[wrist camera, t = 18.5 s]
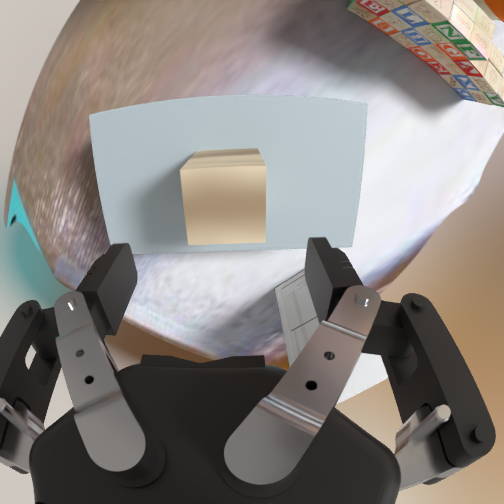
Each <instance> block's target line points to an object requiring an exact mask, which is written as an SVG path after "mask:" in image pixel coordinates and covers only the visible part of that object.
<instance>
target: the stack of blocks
mask: <svg viewBox="0 0 504 504" xmlns="http://www.w3.org/2000/svg"><path fill="white" fill-rule="evenodd" d="M347 9H348V10H349V11H351V12H353V13H355V14H356V15H358V16H360V17H361V18H363V19H365V20H366V21H368V22H369V23H370V24H372V25H373V26H375V27H376V28H378V29H380V30H381V31H383V32H384V33H385V34H387V35H389V36H390V37H391V38H393V39H394V40H395V41H397V42H398V43H400V44H401V45H402V46H404V47H405V48H407V49H409V50H410V51H411V52H413V53H414V54H415V55H416V56H418V57H419V58H420V59H421V60H423V61H424V62H425V63H427V64H428V65H429V66H430V67H431V68H432V69H434V70H435V71H436V72H437V73H438V74H439V75H440V76H441V77H442V78H443V79H444V80H445V81H446V82H447V83H448V84H449V85H450V86H451V87H453V89H454V90H455V91H456V92H457V93H458V94H459V95H460V96H461V97H462V98H463V99H465V100H470V101H475V102H479V103H484V104H488V105H496V106H501V107H504V56H503V55H502V53H501V52H500V51H499V50H498V48H497V47H496V46H495V45H494V44H493V43H492V36H493V32H494V28H495V24H494V23H493V22H492V20H491V19H490V18H489V17H488V16H487V15H486V14H485V13H484V11H483V10H482V9H481V8H480V7H479V6H477V4H476V3H475V2H474V1H473V0H351V1H350V3H349V5H348V7H347Z"/></svg>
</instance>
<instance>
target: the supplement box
mask: <svg viewBox="0 0 504 504" xmlns="http://www.w3.org/2000/svg"><path fill="white" fill-rule="evenodd" d="M275 293H276V298H277V303H278V308H279V313H280V318H281V323H282V328H283V333H284V338H285V344H286V349H287V354H288V359H289V365H290V367H291V365H292V364H293V362H294V361H295V360H296V358H297V357H298V355H299V354H300V353H301V351H302V350H303V348H304V347H305V345H306V344H307V343H308V341H309V340H310V338H311V337H312V335H313V334H314V332H315V331H316V329H317V328H318V326H319V325H320V324H319V321H318V318H317V314H316V311H315V308H314V305H313V302H312V299H311V296H310V292H309V289H308V286H307V283H306V280H305V270H303V271H302V272H300V273H299V274H297V275H296V276H294V277H292V278H291V279H289V280H288V281H286V282H285V283H283V284H281V285H280V286H278V287H277V288H275ZM386 378H388V375H387V372H386V369H385V366H384V364H383V361H382V358H381V355H373V354H365V353H361V355H360V357H359V359H358V361H357V364H356V366H355V368H354V370H353V372H352V374H351V376H350V378H349V380H348V382H347V384H346V386H345V388H344V390H343V392H342V394H341V396H340V398H339V400H338V402H337V403H340V402H342V401H344V400H346V399H348V398H350V397H352V396H354V395H356V394H358V393H360V392H362V391H364V390H366V389H368V388H370V387H372V386H374V385H376V384H377V383H379V382H381V381H383V380H385V379H386ZM337 403H336V404H337Z"/></svg>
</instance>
